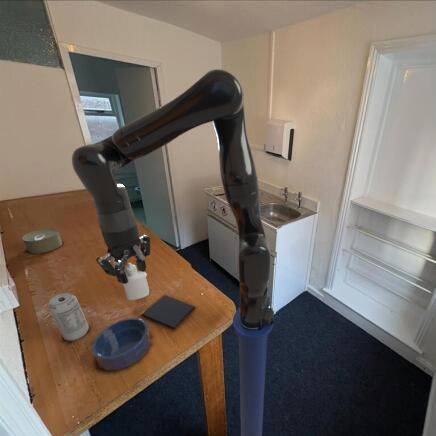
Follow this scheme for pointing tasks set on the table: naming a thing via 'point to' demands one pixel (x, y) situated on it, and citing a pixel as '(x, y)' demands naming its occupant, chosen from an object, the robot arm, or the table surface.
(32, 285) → the table surface
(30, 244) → the can
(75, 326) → the energy drink can
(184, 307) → the mat
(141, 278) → the eye dropper bottle
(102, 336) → the bowl
